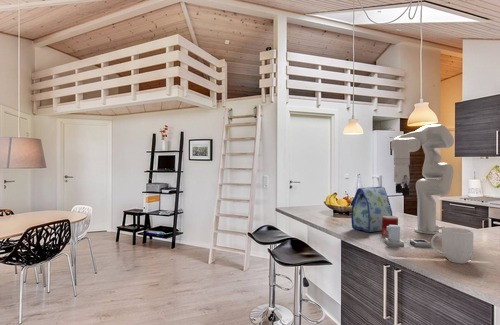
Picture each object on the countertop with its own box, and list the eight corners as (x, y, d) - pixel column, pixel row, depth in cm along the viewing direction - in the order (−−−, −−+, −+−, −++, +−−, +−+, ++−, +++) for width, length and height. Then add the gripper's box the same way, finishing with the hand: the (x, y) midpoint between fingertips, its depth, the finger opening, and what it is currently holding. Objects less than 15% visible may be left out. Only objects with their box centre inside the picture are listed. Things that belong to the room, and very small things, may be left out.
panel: (424, 243, 152) (425, 237, 152) (437, 251, 138) (437, 245, 138) (379, 241, 155) (379, 236, 155) (387, 249, 141) (387, 243, 141)
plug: (397, 243, 149) (397, 225, 149) (399, 245, 145) (399, 226, 145) (386, 242, 150) (386, 224, 150) (388, 244, 146) (388, 226, 146)
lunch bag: (371, 224, 197) (371, 185, 197) (394, 229, 183) (394, 187, 183) (347, 228, 186) (348, 186, 186) (370, 234, 172) (370, 189, 172)
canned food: (399, 238, 162) (399, 218, 162) (383, 237, 164) (384, 217, 164) (395, 235, 170) (395, 215, 170) (380, 234, 171) (380, 215, 171)
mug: (428, 259, 127) (429, 228, 127) (433, 253, 136) (433, 224, 136) (472, 267, 118) (472, 234, 118) (474, 260, 126) (474, 229, 126)
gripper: (388, 161, 166) (389, 192, 167) (399, 162, 149) (400, 196, 150) (403, 161, 165) (403, 191, 166) (416, 162, 148) (416, 196, 149)
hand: (402, 194), depth 158 cm, fingers open, 9 cm apart
